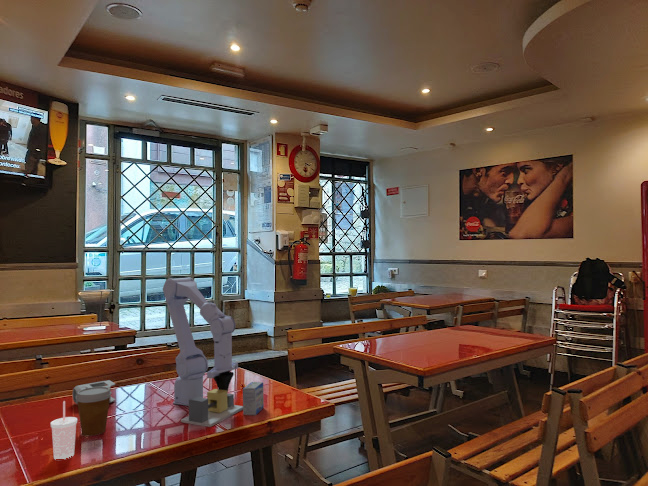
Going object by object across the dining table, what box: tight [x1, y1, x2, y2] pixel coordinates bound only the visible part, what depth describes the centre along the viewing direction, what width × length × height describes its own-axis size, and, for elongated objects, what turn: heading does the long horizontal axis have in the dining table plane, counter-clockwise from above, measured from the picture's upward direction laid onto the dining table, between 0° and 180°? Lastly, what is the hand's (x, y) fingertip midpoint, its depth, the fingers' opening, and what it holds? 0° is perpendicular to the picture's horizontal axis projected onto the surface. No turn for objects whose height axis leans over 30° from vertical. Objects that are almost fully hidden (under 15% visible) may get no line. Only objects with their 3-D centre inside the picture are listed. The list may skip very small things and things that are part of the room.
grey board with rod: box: [180, 392, 243, 428], centre depth 151 cm, size 11×18×7 cm, turn 156°
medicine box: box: [242, 381, 265, 416], centre depth 155 cm, size 8×4×9 cm, turn 168°
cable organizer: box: [72, 379, 117, 406], centre depth 165 cm, size 7×12×12 cm
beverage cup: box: [50, 400, 78, 460], centre depth 122 cm, size 6×6×14 cm
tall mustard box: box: [206, 388, 228, 413], centre depth 153 cm, size 5×4×6 cm
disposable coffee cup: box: [76, 387, 113, 437], centre depth 138 cm, size 10×10×12 cm
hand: (223, 395), depth 156 cm, fingers closed
